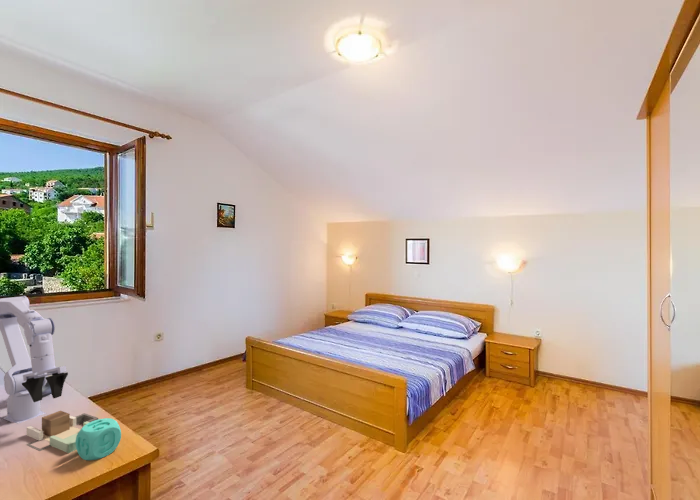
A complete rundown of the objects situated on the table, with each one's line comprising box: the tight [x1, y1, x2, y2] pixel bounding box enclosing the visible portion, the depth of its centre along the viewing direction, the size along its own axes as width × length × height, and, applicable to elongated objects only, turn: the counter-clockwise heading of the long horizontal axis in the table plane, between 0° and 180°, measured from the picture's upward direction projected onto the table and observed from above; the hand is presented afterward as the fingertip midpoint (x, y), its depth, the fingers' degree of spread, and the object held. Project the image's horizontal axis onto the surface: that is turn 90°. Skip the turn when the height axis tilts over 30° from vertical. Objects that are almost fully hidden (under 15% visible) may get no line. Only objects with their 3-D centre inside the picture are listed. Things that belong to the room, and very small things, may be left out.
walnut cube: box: [41, 410, 71, 437], centre depth 109 cm, size 5×5×5 cm
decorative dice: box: [76, 417, 122, 461], centre depth 100 cm, size 8×8×8 cm
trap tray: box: [25, 413, 99, 454], centre depth 107 cm, size 22×16×3 cm
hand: (47, 399), depth 111 cm, fingers open, 7 cm apart
